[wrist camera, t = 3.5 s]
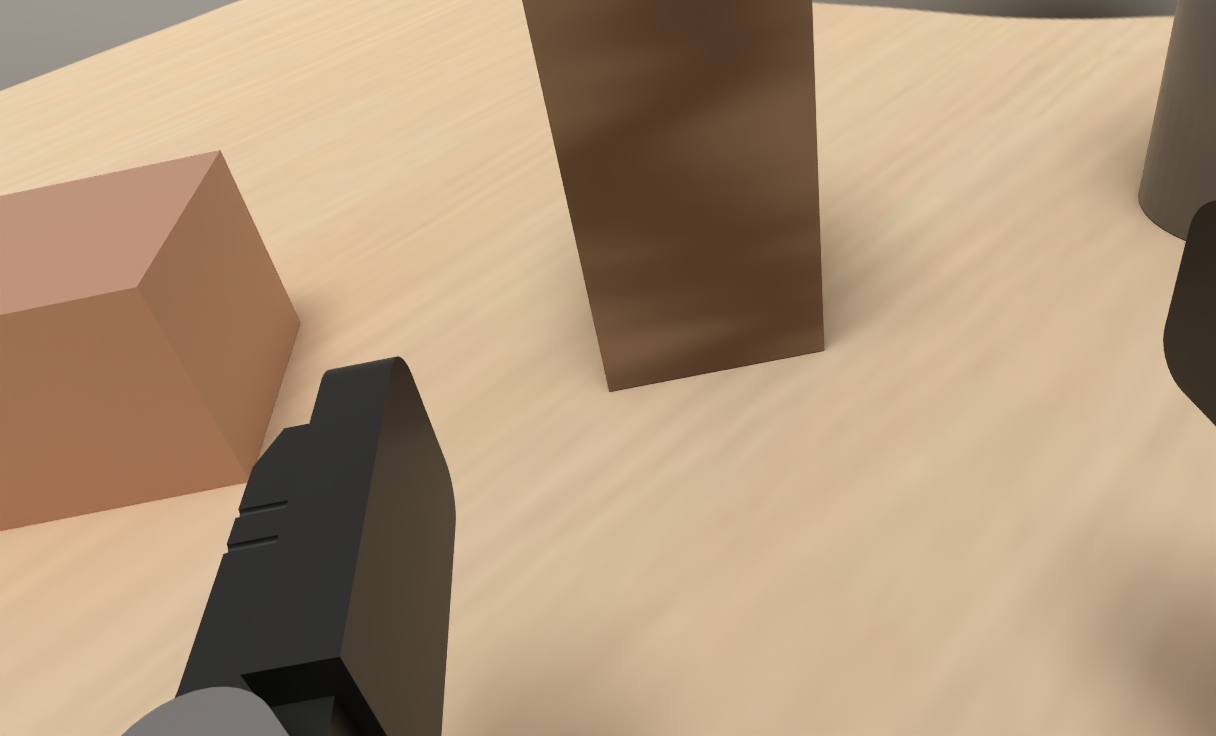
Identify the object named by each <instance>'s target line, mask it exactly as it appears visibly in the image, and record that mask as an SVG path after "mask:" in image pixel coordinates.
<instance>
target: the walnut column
mask: <svg viewBox="0 0 1216 736" xmlns="http://www.w3.org/2000/svg"><path fill="white" fill-rule="evenodd" d="M522 2H523V6H524V11H525V15H526V20H527V24H528V29H529V33H530V38H531V42H532V47H533V51H534V56H535V60H536V65H537V69H538V74H539V78H540V83H541V87H542V92H543V96H544V101H545V105H546V110H547V114H548V118H549V123H550V127H551V132H552V136H553V141H554V145H555V150H556V154H557V159H558V163H559V168H560V172H561V177H562V181H563V186H564V190H565V195H566V199H567V204H568V208H569V213H570V217H571V222H572V226H573V231H574V235H575V240H576V244H577V249H578V253H579V258H580V262H581V267H582V271H583V276H584V280H585V285H586V289H587V294H588V298H589V303H590V307H591V312H592V316H593V321H594V325H595V330H596V334H597V339H598V343H599V347H600V352H601V356H602V361H603V365H604V370H605V374H606V379H607V383H608V388H609V392H610V391H616V390H621V389H626V388H631V387H636V386H642V385H647V384H652V383H657V382H662V381H668V380H673V379H678V378H683V377H688V376H694V375H699V374H704V373H709V372H715V371H720V370H725V369H730V368H735V367H741V366H746V365H751V364H756V363H761V362H767V361H772V360H777V359H782V358H787V357H793V356H798V355H803V354H808V353H813V352H819V351H824V333H823V304H822V275H821V246H820V217H819V188H818V159H817V130H816V101H815V72H814V42H813V13H812V0H522Z"/></svg>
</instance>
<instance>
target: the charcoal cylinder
mask: <svg viewBox="0 0 1216 736" xmlns="http://www.w3.org/2000/svg"><path fill="white" fill-rule="evenodd" d="M1138 196H1139V203H1140V205H1141V208H1142V209H1143V211H1144V212H1145V214H1146V215H1147V216H1148V217H1149V218H1150V219H1151V220H1152V221H1153V222H1154V223H1156V224H1157V225H1158V226H1160V227H1161V228H1162V229H1164V230H1166V231H1168V232H1169V233H1171V234H1173V235H1175V236H1177V237H1179V238H1182V239H1184V240H1186V239H1187V235H1188V231H1189V227H1190V224H1191V221H1192V219H1193V217H1194V215H1195V213H1196V212H1197V211H1198V209H1199V208H1200V207H1202V206H1203V205H1204V204H1206V203H1208V202H1210V201H1215V200H1216V0H1178V3H1177V8H1176V13H1175V18H1174V22H1173V27H1172V32H1171V37H1170V42H1169V47H1168V52H1167V57H1166V62H1165V67H1164V72H1163V77H1162V81H1161V86H1160V91H1159V96H1158V101H1157V106H1156V111H1155V116H1154V121H1153V126H1152V131H1151V135H1150V140H1149V145H1148V150H1147V155H1146V160H1145V165H1144V170H1143V175H1142V180H1141V185H1140V190H1139V194H1138Z"/></svg>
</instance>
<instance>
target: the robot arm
mask: <svg viewBox="0 0 1216 736" xmlns="http://www.w3.org/2000/svg"><path fill="white" fill-rule="evenodd" d="M1163 344H1164V353H1165V358H1166V362H1167V365H1168V368H1169V370H1170V373H1171V375H1172V377H1173V379H1174V381H1175V382H1176V384H1177V385H1178V387H1179V388H1180V389H1181V390H1182V391H1183V392H1184V393H1185V395H1186V396H1187V397H1188V398H1189V399H1190V400H1191V401H1192V402H1193V403H1194V404H1195V405H1196V406H1197V407H1198V408H1199V409H1200V410H1201V411H1202V412H1203V413H1204V414H1205V415H1206V416H1207V417H1208V418H1209V420H1210V421H1211V422H1212V423H1213V424H1214V425H1215V426H1216V200H1215V201H1210V202H1208V203H1206V204H1204V205H1203V206H1202V207H1200V208H1199V209H1198V211H1197V212H1196V213H1195V215H1194V217H1193V219H1192V221H1191V224H1190V227H1189V231H1188V235H1187V239H1186V243H1185V247H1184V251H1183V255H1182V259H1181V264H1180V268H1179V272H1178V276H1177V280H1176V284H1175V288H1174V292H1173V296H1172V300H1171V304H1170V308H1169V312H1168V316H1167V320H1166V324H1165V329H1164V338H1163ZM238 510H239V513H240V517H238V518H235V521H234V524H233V527H232V530H231V533H230V536H229V539H228V542H227V546H228V553H225V554H223V557H222V560H221V563H220V566H219V569H218V572H217V575H216V578H215V581H214V584H213V587H212V590H211V593H210V596H209V599H208V602H207V605H206V608H205V611H204V614H203V617H202V620H201V623H200V626H199V629H198V632H197V635H196V638H195V641H194V644H193V647H192V650H191V653H190V656H189V659H188V662H187V665H186V668H185V671H184V674H183V677H182V680H181V683H180V686H179V689H178V691H177V694H176V696H175V699H173V700H171V701H169V702H167V703H165V704H163V705H161V706H159V707H158V708H156V709H154V710H153V711H151V712H150V713H148V714H147V715H145V716H144V717H143V718H141V719H140V720H139V721H138V722H136V723H135V724H134V725H132V726H131V727H130V728H129V729H128V730H127V731H126V732H125V733H124V734H123V735H122V736H441V732H442V717H443V702H444V687H445V673H446V658H447V643H448V628H449V614H450V599H451V584H452V569H453V554H454V540H455V525H456V511H455V500H454V493H453V487H452V482H451V478H450V474H449V470H448V467H447V464H446V461H445V458H444V456H443V453H442V451H441V448H440V446H439V443H438V440H437V438H436V435H435V433H434V430H433V428H432V425H431V422H430V420H429V417H428V415H427V412H426V410H425V407H424V405H423V402H422V399H421V397H420V394H419V392H418V389H417V387H416V384H415V381H414V379H413V376H412V374H411V372H410V369H409V367H408V366H407V364H406V362H405V361H404V360H403V359H402V358H401V357H393V358H387V359H382V360H377V361H372V362H367V363H362V364H356V365H351V366H346V367H341V368H336V369H331V370H328V371H326V372H325V374H324V375H323V377H322V380H321V384H320V387H319V391H318V395H317V398H316V402H315V405H314V409H313V413H312V416H311V420H310V423H309V424H305V425H300V426H294V427H289V428H284V429H283V431H282V432H281V433H280V434H279V436H278V437H277V438H276V439H275V441H274V442H273V443H272V444H271V445H270V447H269V448H268V449H267V450H266V452H265V453H264V454H263V455H262V457H261V458H260V459H259V460H258V461H257V463H256V464H255V465H254V466H253V468H252V470H251V473H250V476H249V479H248V482H247V485H246V488H245V491H244V494H243V497H242V500H241V503H240V506H239V509H238Z"/></svg>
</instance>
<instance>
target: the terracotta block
mask: <svg viewBox="0 0 1216 736" xmlns="http://www.w3.org/2000/svg"><path fill="white" fill-rule="evenodd" d="M299 326H300V321H299V318H298V316H297V314H296V312H295V310H294V308H293V306H292V303H291V301H290V299H289V297H288V295H287V293H286V290H285V288H284V286H283V284H282V282H281V280H280V278H279V275H278V273H277V271H276V269H275V267H274V265H273V262H272V260H271V258H270V256H269V254H268V252H267V250H266V247H265V245H264V243H263V241H262V239H261V237H260V235H259V232H258V230H257V228H256V226H255V224H254V222H253V219H252V217H251V215H250V213H249V211H248V209H247V207H246V204H245V202H244V200H243V198H242V196H241V194H240V192H239V189H238V187H237V185H236V183H235V181H234V179H233V176H232V174H231V172H230V170H229V168H228V166H227V164H226V161H225V159H224V157H223V155H222V153H221V151H220V150H219V151H215V152H210V153H205V154H200V155H195V156H191V157H186V158H181V159H176V160H171V161H167V162H162V163H157V164H152V165H147V166H142V167H138V168H133V169H128V170H123V171H118V172H114V173H109V174H104V175H99V176H94V177H90V178H85V179H80V180H75V181H70V182H66V183H61V184H56V185H51V186H46V187H42V188H37V189H32V190H27V191H22V192H18V193H13V194H8V195H3V196H0V531H3V530H8V529H13V528H18V527H24V526H29V525H34V524H39V523H44V522H49V521H54V520H59V519H64V518H69V517H74V516H79V515H84V514H89V513H94V512H100V511H105V510H110V509H115V508H120V507H125V506H130V505H135V504H140V503H145V502H150V501H155V500H160V499H165V498H171V497H176V496H181V495H186V494H191V493H196V492H201V491H206V490H211V489H216V488H221V487H226V486H231V485H236V484H242V483H247V482H248V479H249V476H250V473H251V470H252V468H253V466H254V465H255V464H256V461H257V458H258V455H259V452H260V449H261V446H262V443H263V439H264V436H265V433H266V430H267V427H268V424H269V420H270V417H271V414H272V411H273V408H274V405H275V402H276V398H277V395H278V392H279V389H280V386H281V383H282V379H283V376H284V373H285V370H286V367H287V364H288V360H289V357H290V354H291V351H292V348H293V345H294V342H295V338H296V335H297V332H298V329H299Z"/></svg>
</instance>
